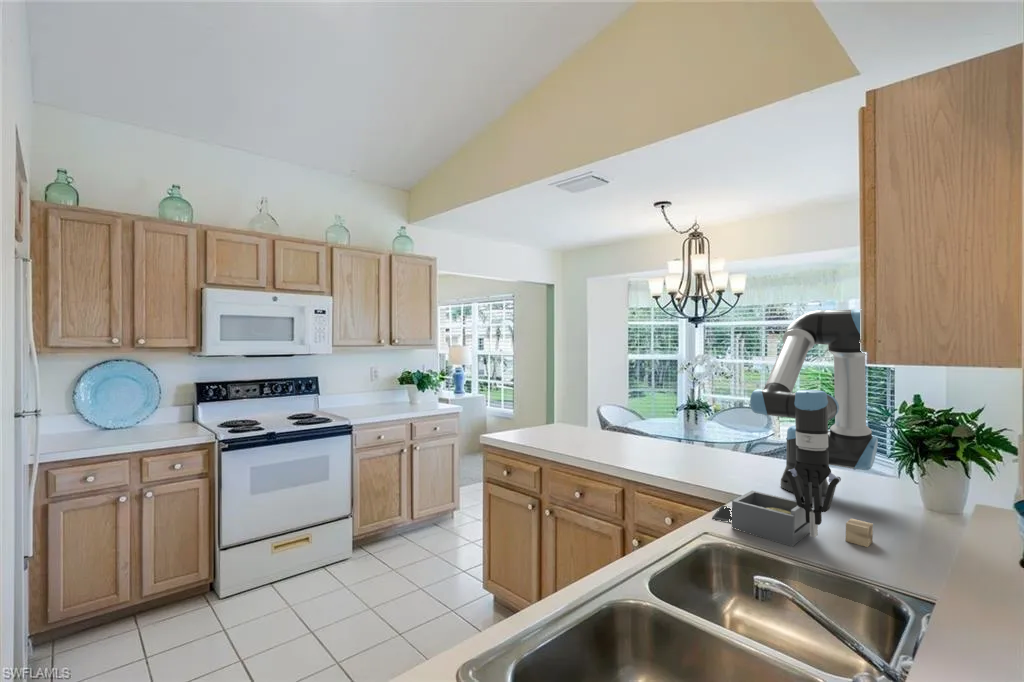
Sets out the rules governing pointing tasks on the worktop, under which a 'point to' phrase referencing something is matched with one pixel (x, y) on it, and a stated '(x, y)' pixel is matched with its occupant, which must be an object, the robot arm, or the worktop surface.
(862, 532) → the pedestal
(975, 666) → the worktop surface
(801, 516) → the grey i-beam
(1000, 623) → the worktop surface
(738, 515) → the box
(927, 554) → the worktop surface
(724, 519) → the cell phone
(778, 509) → the disc
